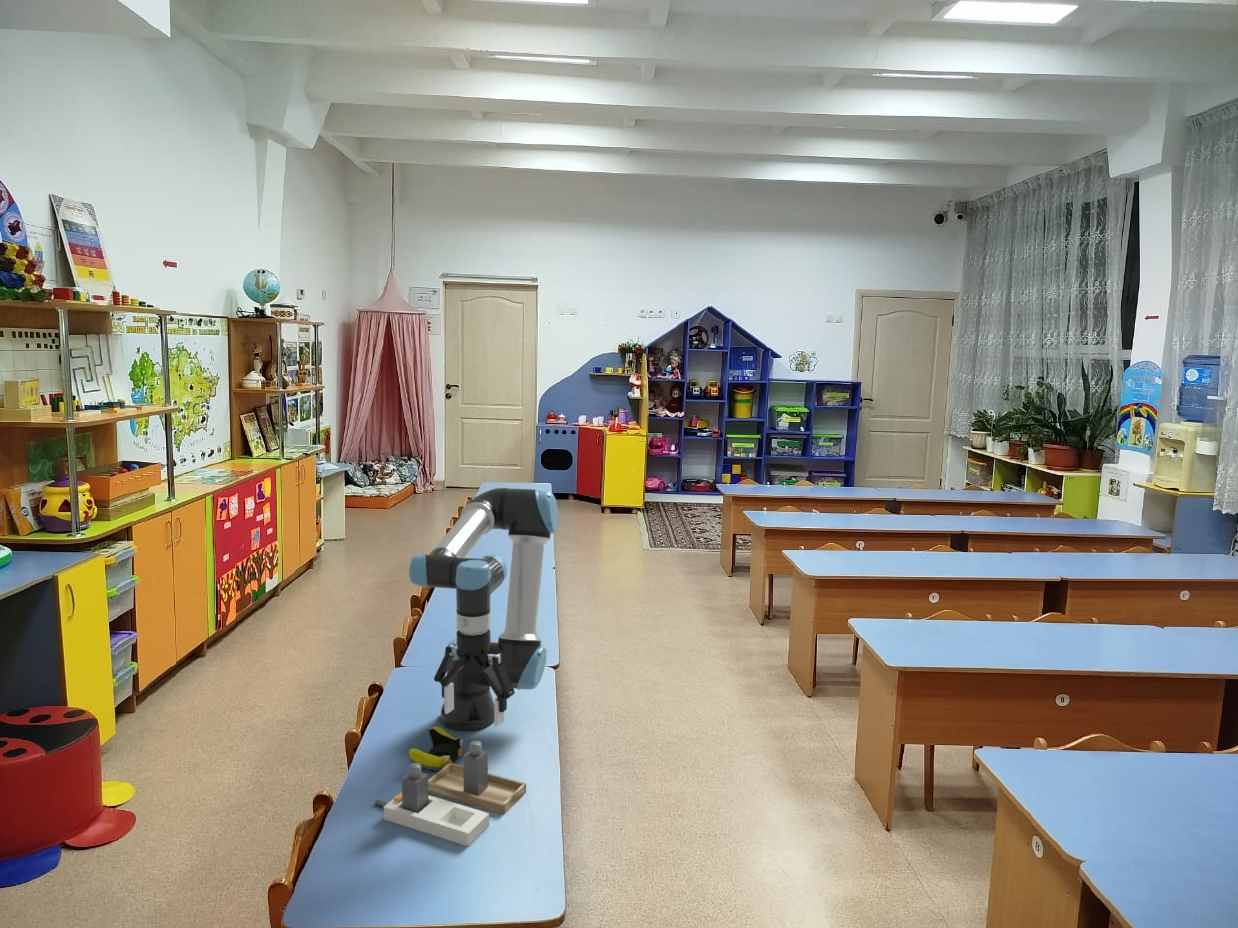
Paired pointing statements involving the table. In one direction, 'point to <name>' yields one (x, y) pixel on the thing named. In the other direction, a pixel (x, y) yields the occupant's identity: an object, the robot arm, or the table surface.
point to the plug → (475, 769)
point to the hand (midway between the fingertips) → (473, 717)
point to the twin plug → (415, 789)
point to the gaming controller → (438, 750)
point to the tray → (493, 798)
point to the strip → (439, 819)
